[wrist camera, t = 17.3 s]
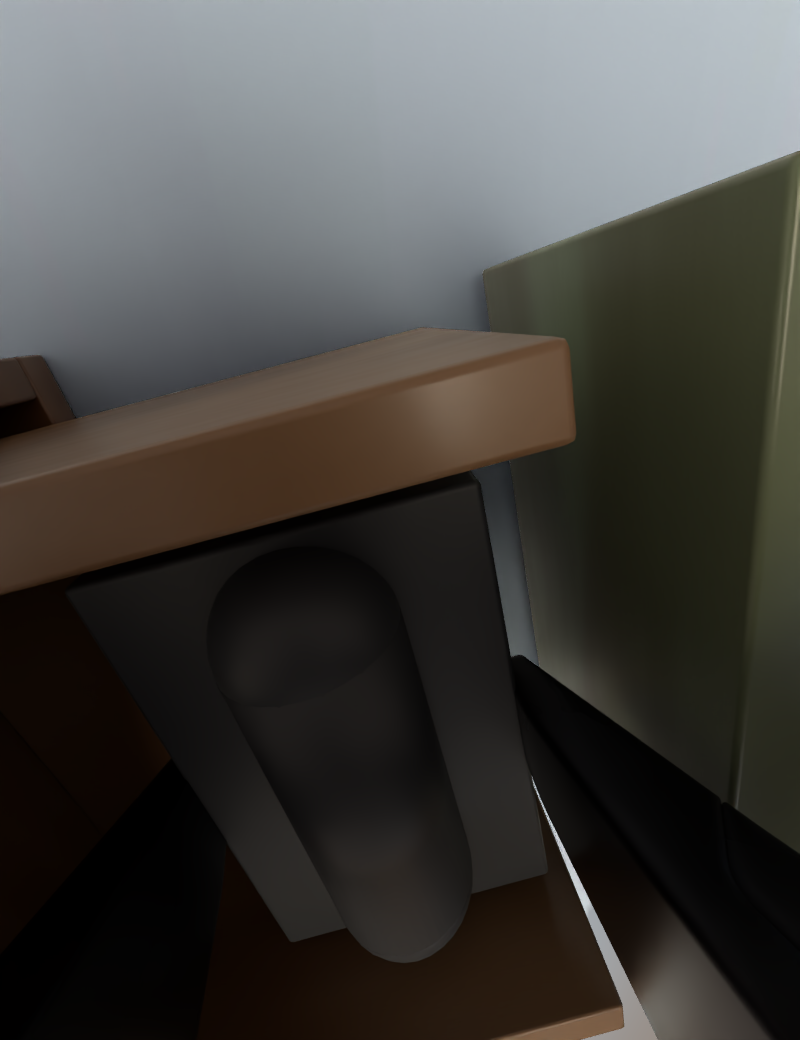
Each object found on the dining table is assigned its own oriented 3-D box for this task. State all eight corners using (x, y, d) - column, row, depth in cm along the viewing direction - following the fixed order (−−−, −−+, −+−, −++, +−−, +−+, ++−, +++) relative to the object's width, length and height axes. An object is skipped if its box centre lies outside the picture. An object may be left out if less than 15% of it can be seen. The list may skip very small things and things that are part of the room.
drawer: (774, 192, 9) (1770, -107, 3) (733, 671, 14) (1044, 951, 8) (-189, 447, 9) (-1463, 745, 3) (121, 835, 14) (-60, 1251, 8)
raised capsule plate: (132, 521, 7) (-17, 662, 4) (446, 439, 7) (516, 520, 4) (299, 835, 10) (281, 1037, 7) (513, 778, 10) (580, 955, 7)
